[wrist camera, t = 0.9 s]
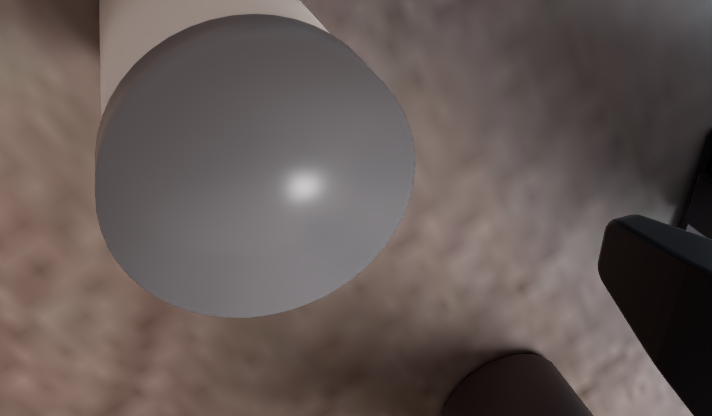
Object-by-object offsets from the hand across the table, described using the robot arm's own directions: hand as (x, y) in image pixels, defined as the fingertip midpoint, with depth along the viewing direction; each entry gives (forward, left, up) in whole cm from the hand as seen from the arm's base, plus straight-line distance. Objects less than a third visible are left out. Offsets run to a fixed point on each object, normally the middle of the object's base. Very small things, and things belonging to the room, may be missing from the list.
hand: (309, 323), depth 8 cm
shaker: (0, 0, -13) cm, 13 cm away
